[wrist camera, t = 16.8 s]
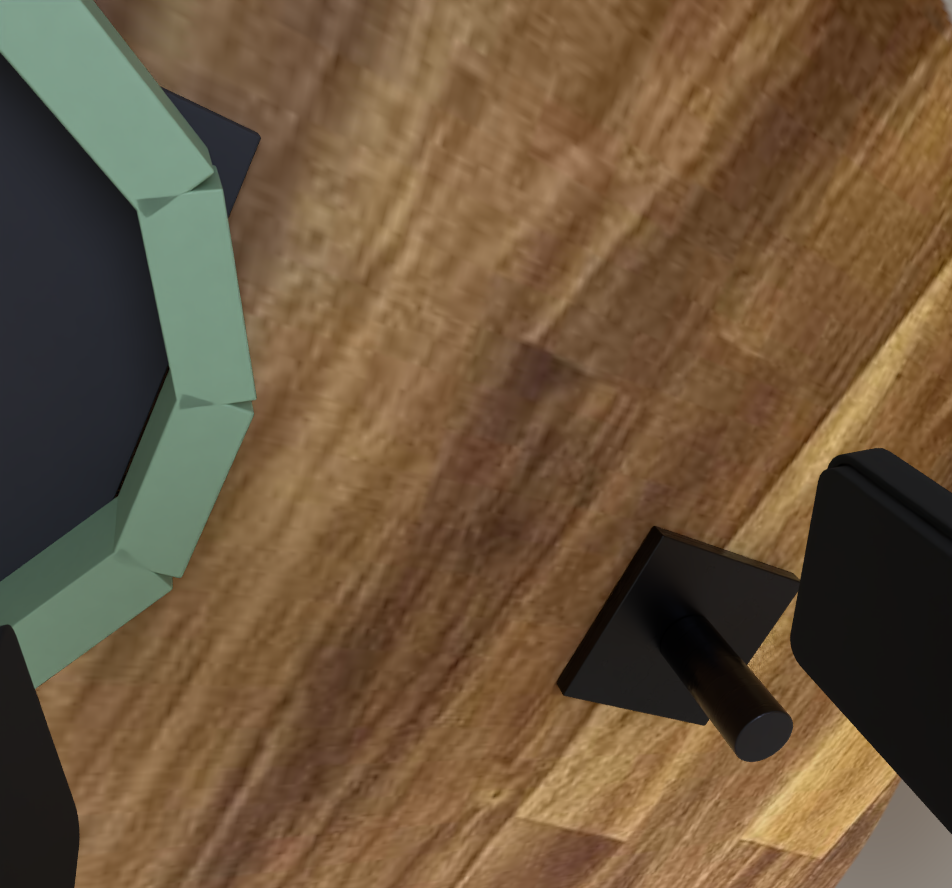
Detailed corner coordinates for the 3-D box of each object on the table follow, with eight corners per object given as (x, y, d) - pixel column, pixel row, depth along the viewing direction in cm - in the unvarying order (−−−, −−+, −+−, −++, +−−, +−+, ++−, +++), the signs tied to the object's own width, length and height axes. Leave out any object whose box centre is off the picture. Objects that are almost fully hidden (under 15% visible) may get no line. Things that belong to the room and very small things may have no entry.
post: (653, 525, 35) (746, 627, 29) (793, 572, 38) (898, 671, 33) (555, 683, 37) (624, 806, 32) (696, 714, 41) (780, 829, 35)
